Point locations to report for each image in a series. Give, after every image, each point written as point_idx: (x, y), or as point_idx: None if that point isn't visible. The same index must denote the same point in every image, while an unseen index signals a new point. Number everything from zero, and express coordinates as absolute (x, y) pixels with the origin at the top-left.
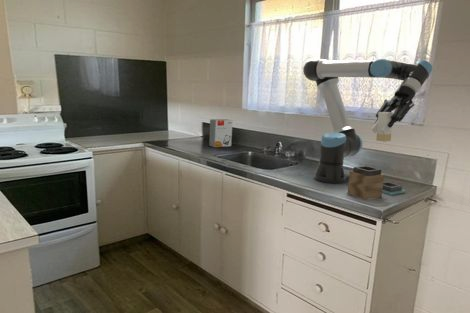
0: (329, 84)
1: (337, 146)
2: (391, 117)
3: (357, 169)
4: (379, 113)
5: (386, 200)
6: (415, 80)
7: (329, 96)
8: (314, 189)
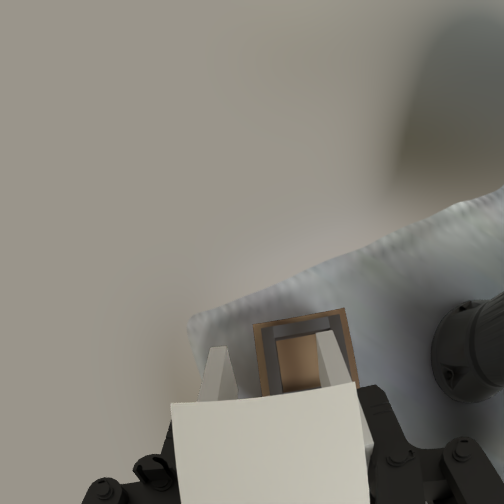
0: None
1: None
2: (157, 455)
3: (318, 318)
4: (329, 387)
5: (240, 398)
6: None
7: None
8: (382, 247)
